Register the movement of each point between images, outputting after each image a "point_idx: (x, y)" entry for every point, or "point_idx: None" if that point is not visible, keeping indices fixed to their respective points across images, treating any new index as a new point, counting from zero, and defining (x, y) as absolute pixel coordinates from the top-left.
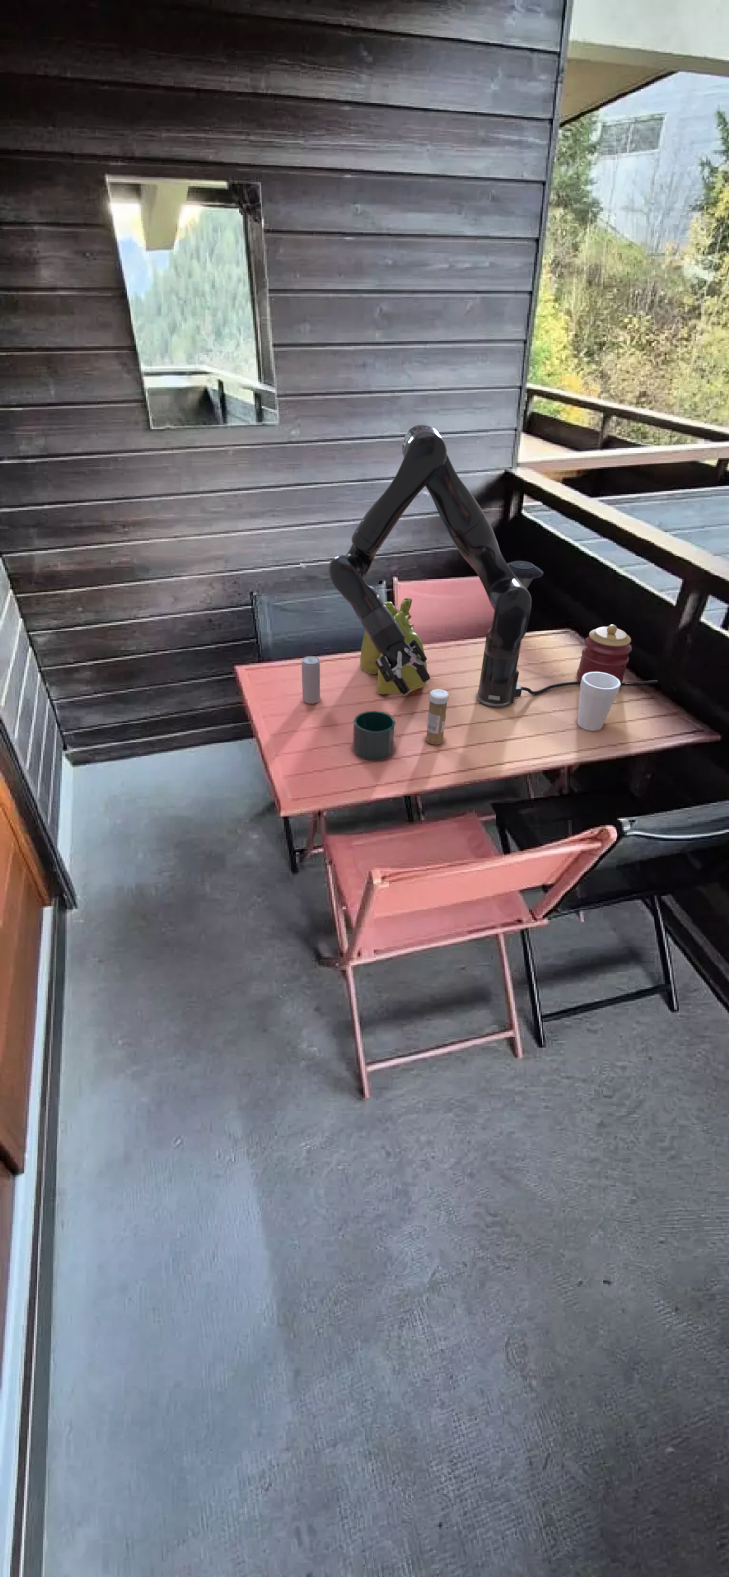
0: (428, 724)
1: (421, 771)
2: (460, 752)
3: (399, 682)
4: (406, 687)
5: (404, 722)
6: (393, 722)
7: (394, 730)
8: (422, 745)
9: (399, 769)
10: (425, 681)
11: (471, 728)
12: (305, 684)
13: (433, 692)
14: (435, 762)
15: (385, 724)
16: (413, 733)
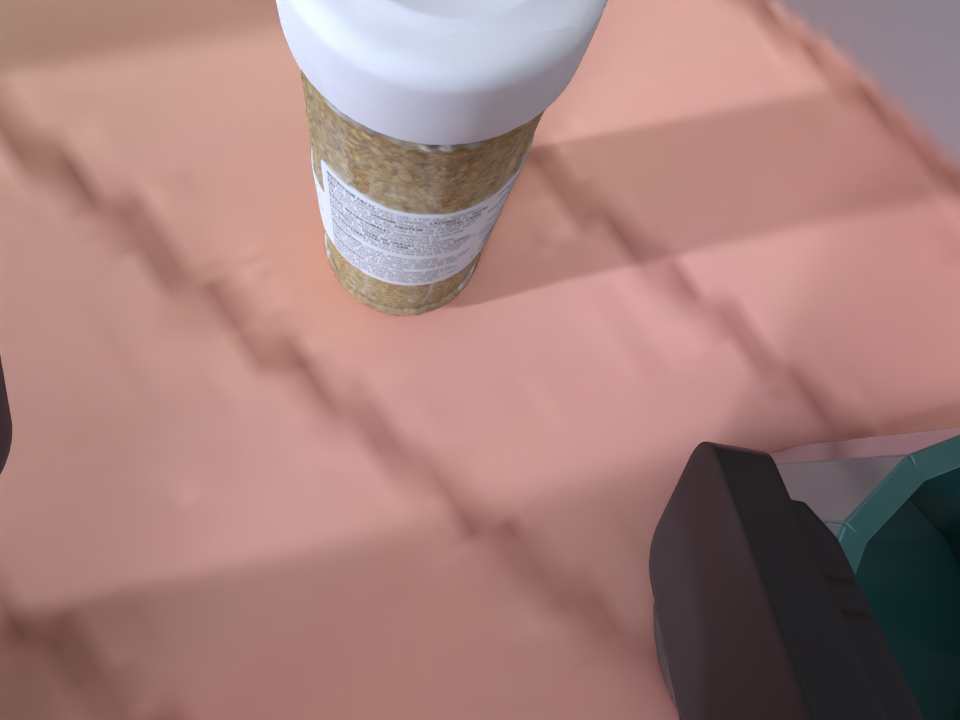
0: (488, 230)
1: (834, 161)
2: None
3: (905, 701)
4: (779, 501)
5: (262, 616)
6: (928, 473)
7: (892, 443)
8: (527, 297)
9: (908, 306)
10: (5, 402)
11: (33, 42)
12: None
13: (484, 13)
14: (678, 118)
15: None
16: (397, 448)
